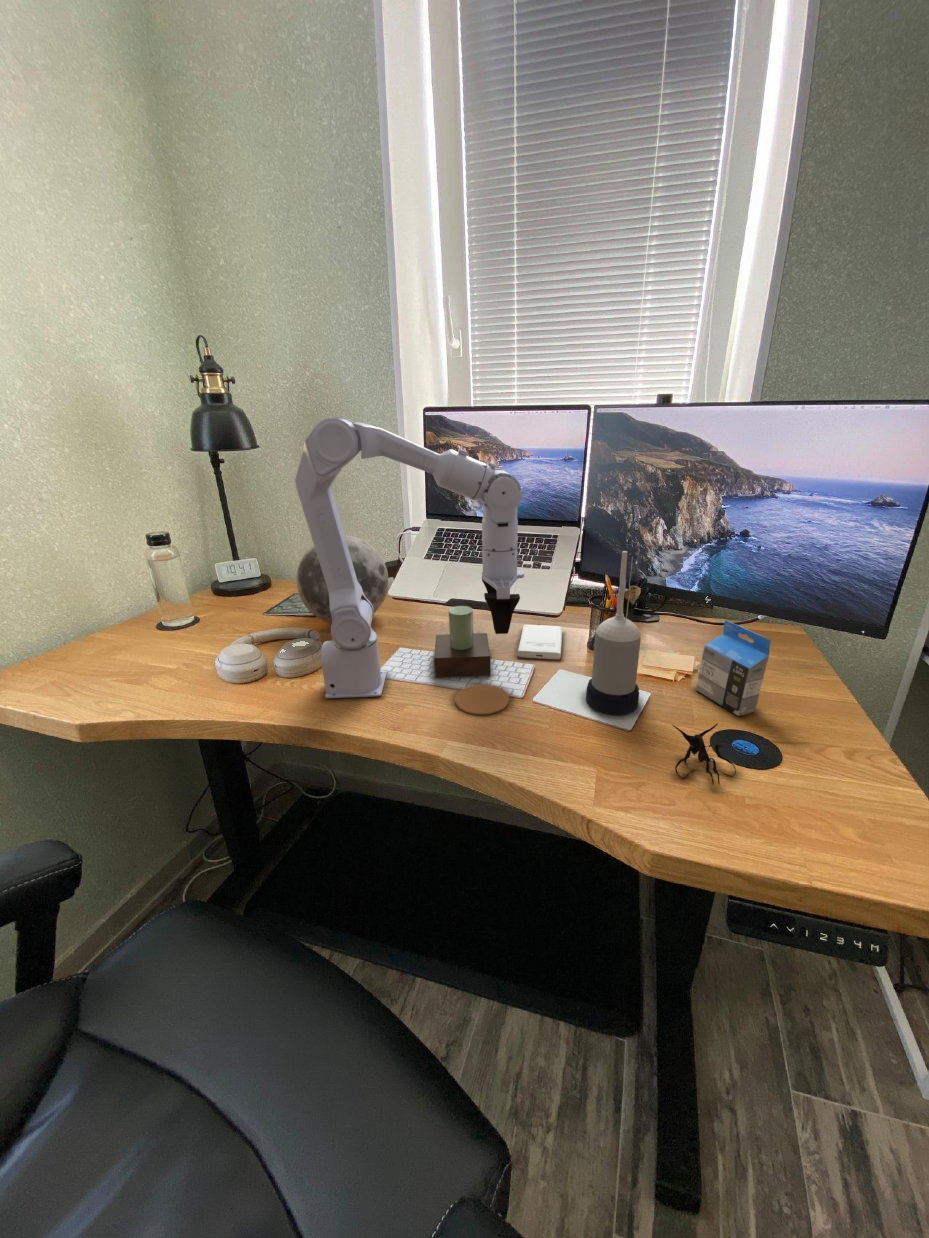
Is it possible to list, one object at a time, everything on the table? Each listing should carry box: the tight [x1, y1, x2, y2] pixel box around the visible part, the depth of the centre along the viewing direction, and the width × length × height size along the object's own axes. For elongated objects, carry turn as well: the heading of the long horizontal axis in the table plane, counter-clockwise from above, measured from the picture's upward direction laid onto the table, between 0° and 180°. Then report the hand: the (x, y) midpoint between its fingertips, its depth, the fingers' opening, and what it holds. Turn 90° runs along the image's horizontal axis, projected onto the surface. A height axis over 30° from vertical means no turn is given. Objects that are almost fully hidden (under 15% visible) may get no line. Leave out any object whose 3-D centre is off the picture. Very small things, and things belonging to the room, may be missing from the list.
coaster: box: [454, 684, 510, 716], centre depth 84 cm, size 9×9×1 cm
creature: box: [672, 722, 737, 786], centre depth 65 cm, size 8×5×8 cm
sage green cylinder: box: [448, 605, 474, 650], centre depth 93 cm, size 4×4×7 cm
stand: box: [433, 632, 492, 679], centre depth 95 cm, size 10×10×4 cm
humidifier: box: [585, 550, 642, 717], centre depth 77 cm, size 8×8×25 cm
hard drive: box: [517, 624, 563, 660], centre depth 102 cm, size 2×8×12 cm
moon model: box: [295, 534, 389, 625], centre depth 113 cm, size 20×20×20 cm
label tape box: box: [695, 619, 771, 717], centre depth 79 cm, size 9×4×12 cm, turn 21°
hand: (499, 623), depth 87 cm, fingers open, 7 cm apart
